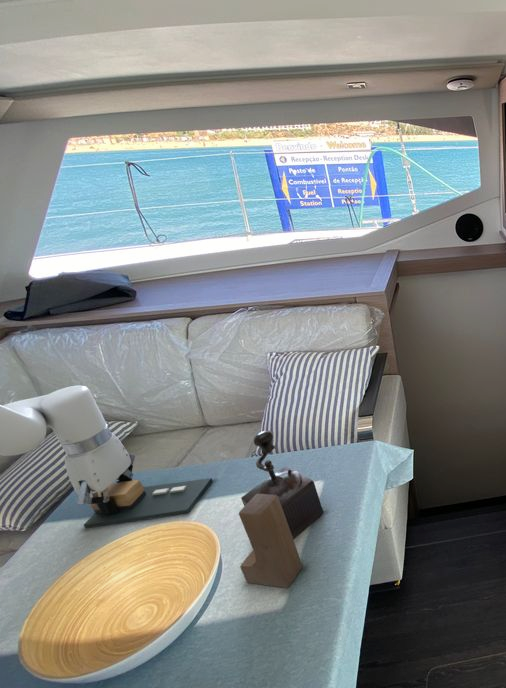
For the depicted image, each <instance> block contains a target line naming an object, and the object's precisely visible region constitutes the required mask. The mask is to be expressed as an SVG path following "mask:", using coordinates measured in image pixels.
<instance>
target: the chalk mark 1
mask: <svg viewBox="0 0 506 688" xmlns="http://www.w3.org/2000/svg"><path fill="white" fill-rule="evenodd" d="M168 491H169V488H167V489H160V490H155V491H154V492H153V493H152V494H153V495H160V494H166V493H167V492H168Z"/></svg>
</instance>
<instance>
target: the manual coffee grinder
mask: <svg viewBox="0 0 506 688" xmlns="http://www.w3.org/2000/svg"><path fill="white" fill-rule="evenodd" d="M273 439H274V434H273V432H272V431H271V430H263V431H260V432H259V433H257V434H256V435H255V436H254V438H253V444H254V445H255V446H256V447H259V448H260V449H261V452H260V453H261V454H262V455H260V457H259V458H258V459H257V460H256V463H255V465H256V468H257V469H259V470H261V471H264V472H268V474H269V477H267V478H266V479H265V480H263V481H262V482H260V483H258V485H256V486H255V487H253V488H252V489H250V490H249V491H248V492H247V493H245V494H244V495H242V496H241V498H240V499H241V502H242V504H243V507H244V506H245V505H246V504H247V503H248V502H249V501H250V500H251V499H252V498H253V497H254V496H255V495H256V494H269V495H277V496H278V498H279V501H280V503H281V506H282V509H283V512H284V515H285V517H286V520H287V523H288V526H289V529H290V532H291V534H292V537H293V540H294V539H296V538H297V537H298V536H299V535H301V534H302V533H303V532H304V531H305V530H306V529H307V528H310V526H311V525H313V523H315V522H316V521H317V520H318V519H320V517H322V515H323V514H324V512H325V510H324V509H323V507H322V503H321V501H320V497H319V494H318V490H317V487H316V485H315V482H314V480H313V479H311V478H310V477H308V476H306V475H304V474H302V473H301V472H299V471H297V470H295V469H293V468H291V467H290V466H287V465H285V466H284V467H282V468H281V469H279V470H278V471H276V472H275V471H274V469H275V466H274V465H273V464H272V461H271V460H269V459H267V460H265V459H266V457H267V456H268V455H269V454H271V453H272V452H273V450H275V449H276V445H275V444H273ZM264 460H265V461H264ZM263 461H264V464H263Z"/></svg>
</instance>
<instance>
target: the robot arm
mask: <svg viewBox="0 0 506 688" xmlns="http://www.w3.org/2000/svg"><path fill="white" fill-rule="evenodd" d="M109 425H110V423H109V422H108V421H106V419H105V417H104V415H103V414H102V412H101V409H100V407H99V406H98V404H97V401H96V400H95V398H94V396H93V394H92V392H91V390H90V388H88V387H87V386H85V385H70V386H66V387H63V388H59V389H57V390H54V391H52V392H49V393H48V394H43V395H40V396H35V397H30V398H26V399H19V400H15V401H12V402H8V403H6V404H3V405H2V404H0V456H3V457H12V456H20V455H24V454H26V453H28V452H31V451H32V450H34V449H36V448H37V447H38V446H40V445H41V444H42V443H43V441H44V440H45V438H46V436H47V428H51V429H52V431H53V433H54V435H55V437H56V438H57V440H58V442H59V443H60V446H61V447H62V448H63V451H64V452H65V454H66V456H65V457H64V466H65V471H66V473H67V476H68V479H69V481H70V483H71V486H72V488H73V489H74V492H75V493H76V495H77V496H78V498H77V502H76V504H77V506H83V505H90V504H97V505H98V507H99V509H100V511H101V513H102V514H103V515H109V514H116V513H118V512H119V508H118V506H117V505H116V503H115V501H114V499H113V498H109V492H108V486H109V485H111V484H112V483H118V482H126V481H133V478H134V473H133V468H134V462H135V459H136V456H135V455H134V454H130V453H128V450H127V449H126V448H125V446H124V444H122V441H121V440H120V439H119V438H118V437H117V436H116V434H115V433H113V432H111V429H110V428H109ZM116 480H117V481H116ZM115 481H116V482H115ZM100 492H101V496H102V497H98V493H100ZM90 496H91V497H90Z"/></svg>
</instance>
